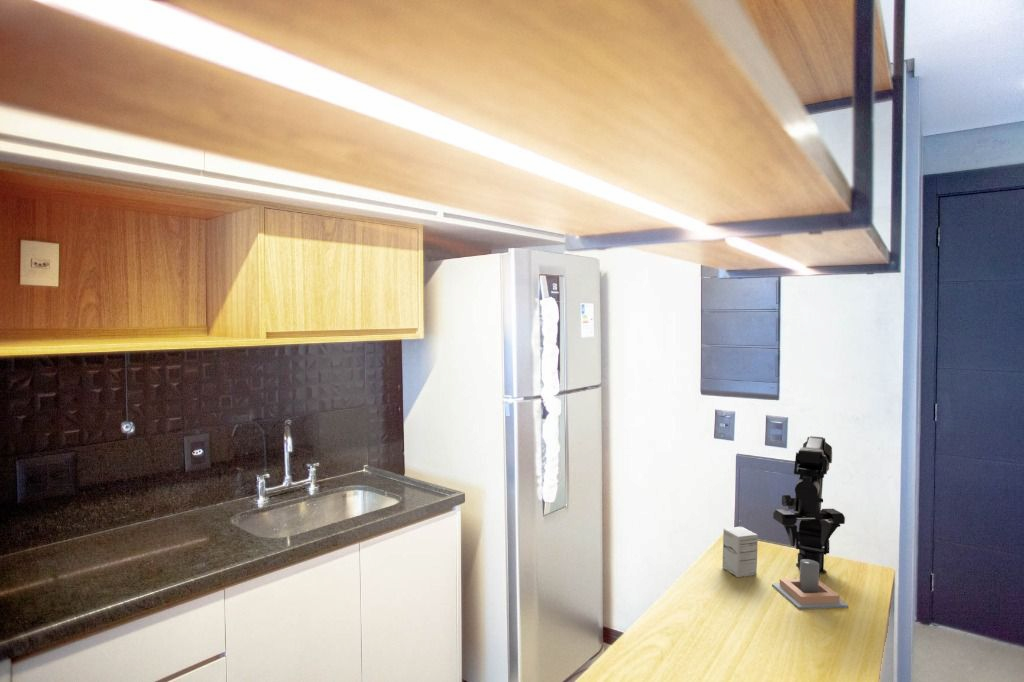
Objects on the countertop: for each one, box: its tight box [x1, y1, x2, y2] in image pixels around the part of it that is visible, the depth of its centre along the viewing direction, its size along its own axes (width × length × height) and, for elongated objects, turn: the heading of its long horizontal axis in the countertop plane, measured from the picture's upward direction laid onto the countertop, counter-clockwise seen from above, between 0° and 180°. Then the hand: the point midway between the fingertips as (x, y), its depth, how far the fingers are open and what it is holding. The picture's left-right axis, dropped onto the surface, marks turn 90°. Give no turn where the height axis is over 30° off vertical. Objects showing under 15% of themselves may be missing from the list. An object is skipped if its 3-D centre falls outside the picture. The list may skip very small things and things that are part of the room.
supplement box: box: [722, 526, 759, 578], centre depth 184 cm, size 7×7×13 cm
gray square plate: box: [771, 577, 849, 610], centre depth 168 cm, size 14×14×3 cm
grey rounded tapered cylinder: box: [799, 559, 820, 593], centre depth 168 cm, size 5×5×9 cm
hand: (807, 545), depth 174 cm, fingers open, 9 cm apart
